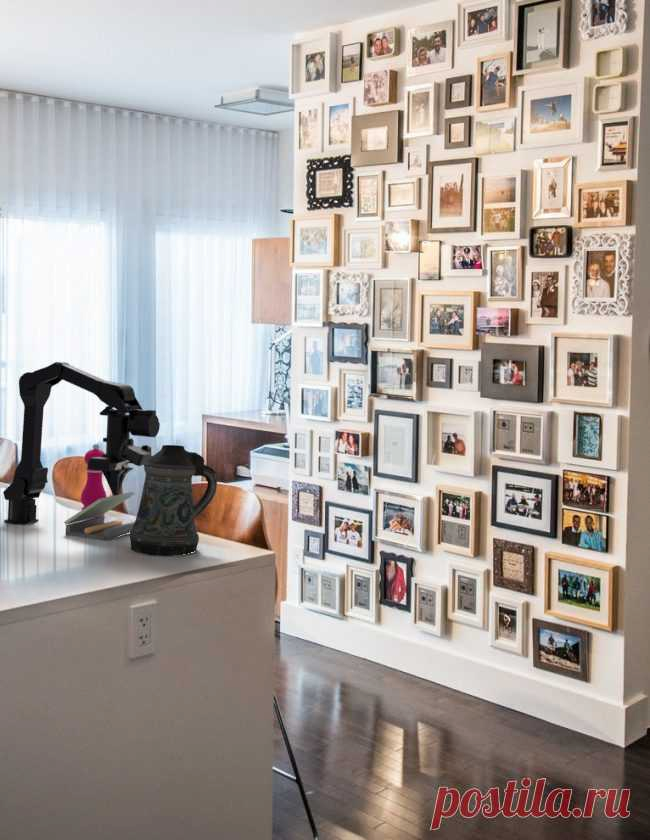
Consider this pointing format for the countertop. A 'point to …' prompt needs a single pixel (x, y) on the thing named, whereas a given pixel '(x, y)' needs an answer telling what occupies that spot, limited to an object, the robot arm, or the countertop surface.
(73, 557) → the countertop surface
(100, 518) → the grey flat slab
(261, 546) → the countertop surface
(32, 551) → the countertop surface
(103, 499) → the cover
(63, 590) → the countertop surface
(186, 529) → the beer stein
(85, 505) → the pepper mill
